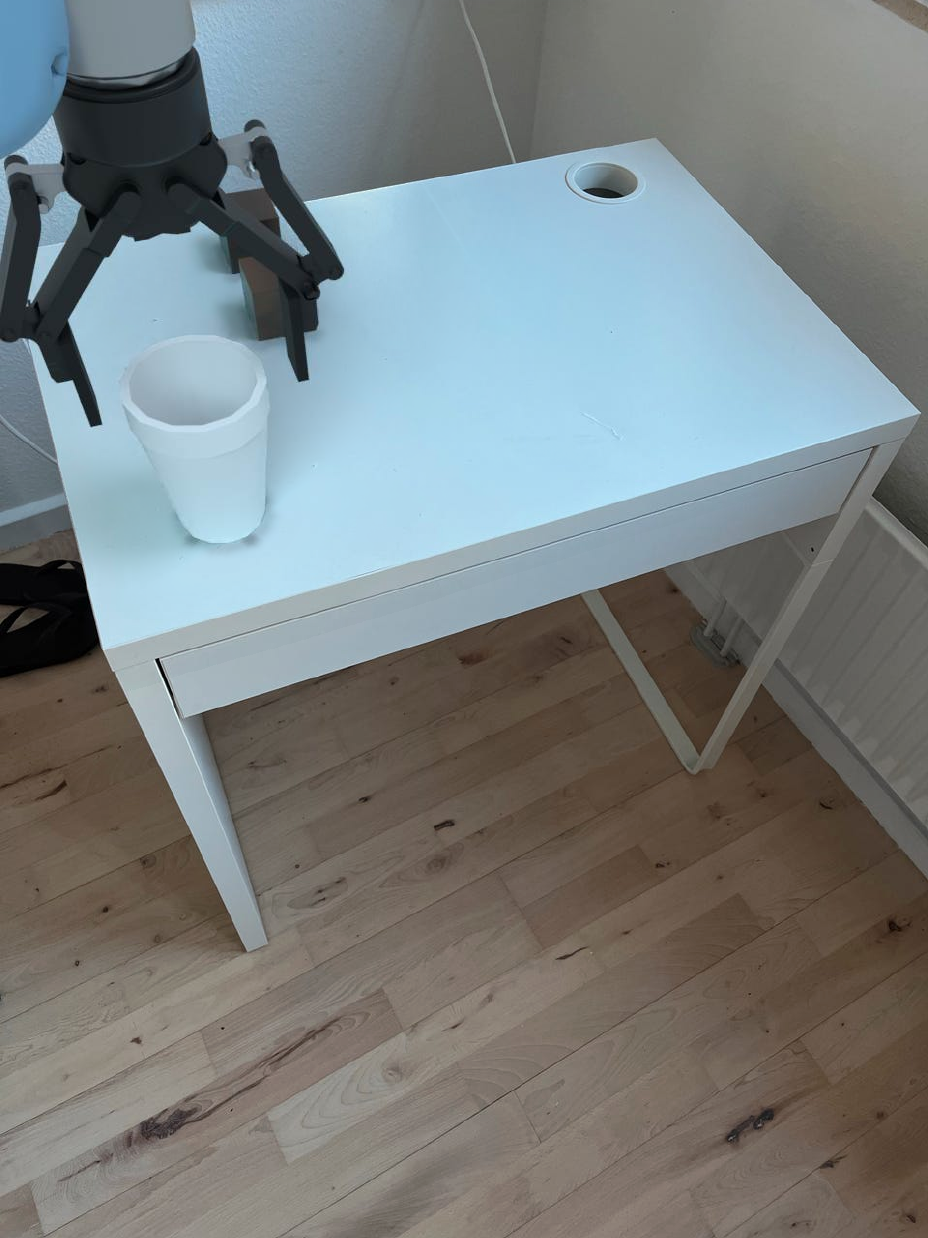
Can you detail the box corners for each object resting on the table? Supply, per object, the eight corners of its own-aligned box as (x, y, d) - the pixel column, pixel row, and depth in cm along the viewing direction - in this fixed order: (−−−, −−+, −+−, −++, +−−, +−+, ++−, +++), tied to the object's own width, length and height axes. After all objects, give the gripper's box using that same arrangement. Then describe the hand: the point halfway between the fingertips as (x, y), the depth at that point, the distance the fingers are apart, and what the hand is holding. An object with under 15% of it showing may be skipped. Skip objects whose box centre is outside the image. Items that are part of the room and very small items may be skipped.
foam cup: (185, 577, 68) (146, 450, 58) (142, 491, 73) (99, 359, 62) (304, 531, 72) (289, 403, 61) (257, 452, 76) (234, 319, 65)
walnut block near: (259, 340, 83) (252, 293, 79) (245, 306, 86) (237, 258, 82) (313, 330, 85) (309, 282, 81) (298, 296, 87) (293, 248, 83)
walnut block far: (232, 273, 88) (224, 225, 84) (220, 243, 91) (212, 195, 87) (284, 264, 90) (279, 217, 86) (271, 234, 92) (265, 186, 88)
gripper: (346, -14, 50) (361, 317, 67) (-172, 44, 43) (-6, 391, 61) (391, 54, 46) (395, 386, 63) (-169, 129, 40) (7, 473, 57)
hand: (198, 389), depth 62 cm, fingers open, 13 cm apart
